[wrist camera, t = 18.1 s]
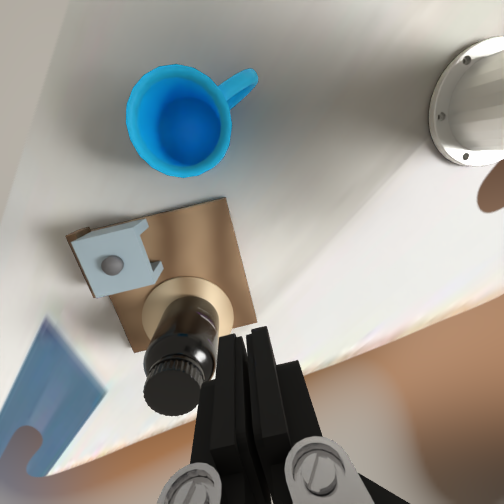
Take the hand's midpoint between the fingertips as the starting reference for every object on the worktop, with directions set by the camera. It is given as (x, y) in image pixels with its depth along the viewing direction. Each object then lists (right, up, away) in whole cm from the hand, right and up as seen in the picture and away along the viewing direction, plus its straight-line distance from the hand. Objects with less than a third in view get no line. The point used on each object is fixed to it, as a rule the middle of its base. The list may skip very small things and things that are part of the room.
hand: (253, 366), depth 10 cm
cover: (-14, +4, +22) cm, 26 cm away
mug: (-5, +18, +20) cm, 27 cm away
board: (-9, +1, +25) cm, 27 cm away
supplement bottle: (-7, -4, +25) cm, 27 cm away
